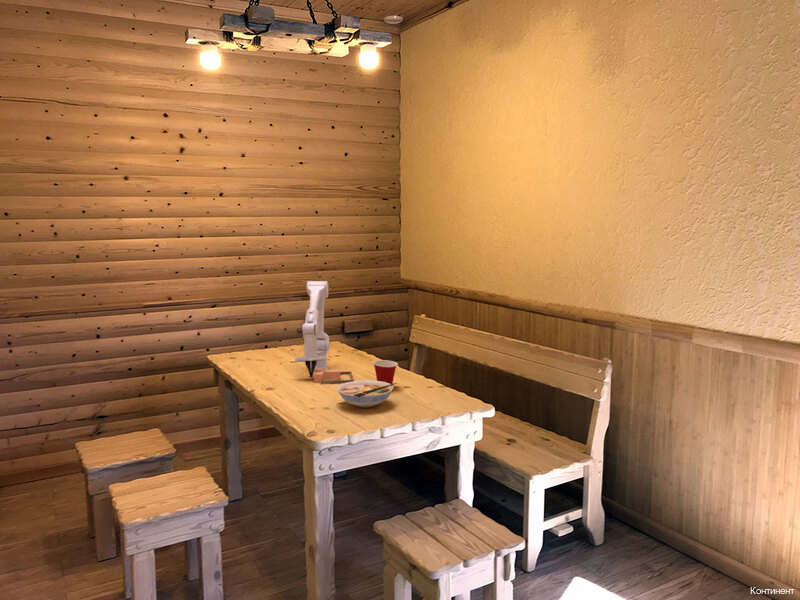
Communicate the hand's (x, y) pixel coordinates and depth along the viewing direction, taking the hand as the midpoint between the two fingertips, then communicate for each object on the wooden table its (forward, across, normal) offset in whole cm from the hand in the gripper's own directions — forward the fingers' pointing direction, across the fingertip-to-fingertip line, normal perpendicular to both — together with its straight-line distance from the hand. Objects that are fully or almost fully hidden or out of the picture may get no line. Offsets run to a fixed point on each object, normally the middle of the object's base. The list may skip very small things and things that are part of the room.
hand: (311, 376), depth 305 cm
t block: (+1, +7, 0) cm, 8 cm away
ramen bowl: (+2, +21, -44) cm, 49 cm away
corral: (+1, +11, 0) cm, 11 cm away
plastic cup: (+2, +32, -21) cm, 39 cm away
